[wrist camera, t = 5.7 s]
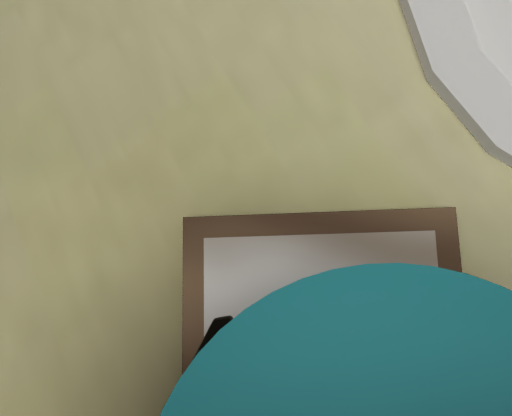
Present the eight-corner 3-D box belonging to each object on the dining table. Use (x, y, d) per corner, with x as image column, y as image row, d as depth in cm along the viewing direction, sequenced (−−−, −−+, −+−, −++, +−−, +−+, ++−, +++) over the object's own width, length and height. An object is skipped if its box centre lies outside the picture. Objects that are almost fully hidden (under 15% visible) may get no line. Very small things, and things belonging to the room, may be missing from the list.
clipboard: (490, 619, 17) (505, 646, 16) (184, 604, 19) (175, 628, 17) (450, 209, 20) (460, 204, 19) (186, 219, 21) (179, 215, 20)
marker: (354, 416, 16) (594, 1043, 3) (250, 364, 17) (43, 666, 3) (398, 309, 16) (785, 407, 3) (295, 262, 17) (266, 184, 4)
